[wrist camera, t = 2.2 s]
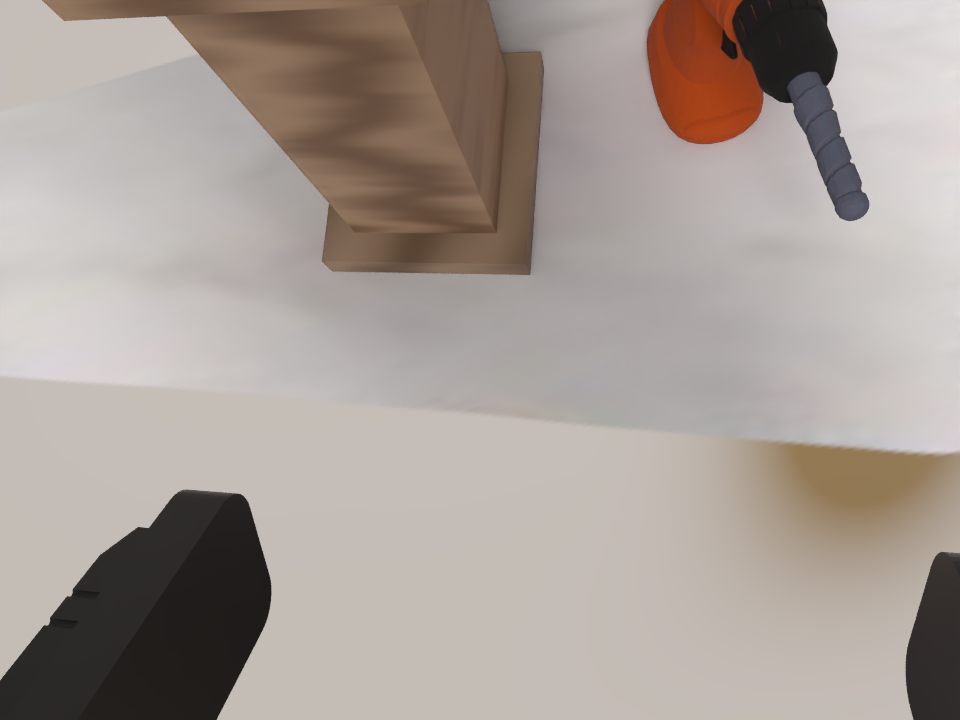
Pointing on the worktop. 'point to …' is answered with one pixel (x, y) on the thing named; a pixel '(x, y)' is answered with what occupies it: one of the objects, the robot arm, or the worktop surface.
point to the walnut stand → (382, 119)
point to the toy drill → (752, 77)
